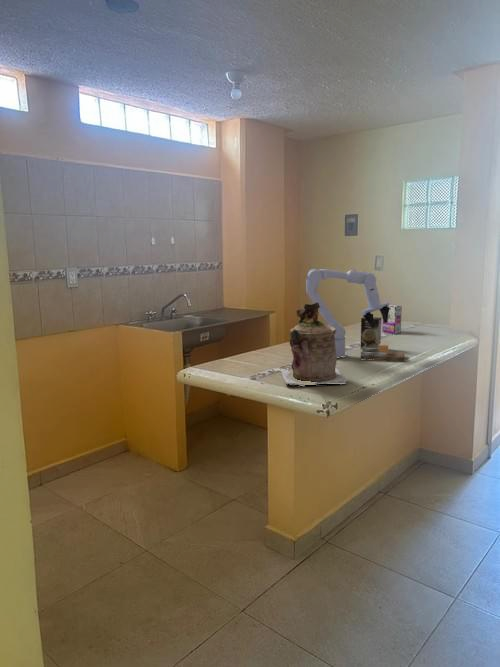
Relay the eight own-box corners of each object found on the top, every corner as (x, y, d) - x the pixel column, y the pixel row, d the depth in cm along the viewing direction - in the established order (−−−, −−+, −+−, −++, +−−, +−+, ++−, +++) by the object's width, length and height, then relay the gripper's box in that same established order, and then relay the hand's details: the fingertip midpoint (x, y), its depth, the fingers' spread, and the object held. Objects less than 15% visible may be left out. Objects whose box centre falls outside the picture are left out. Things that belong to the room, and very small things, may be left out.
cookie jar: (336, 369, 215) (336, 296, 209) (349, 386, 191) (349, 304, 185) (279, 371, 214) (278, 298, 208) (285, 388, 190) (284, 306, 184)
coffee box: (360, 349, 252) (360, 318, 249) (363, 346, 257) (363, 316, 254) (378, 350, 247) (378, 319, 244) (381, 348, 253) (381, 317, 250)
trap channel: (360, 359, 230) (360, 352, 229) (362, 354, 240) (362, 347, 240) (404, 361, 224) (404, 354, 224) (404, 356, 235) (404, 349, 234)
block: (378, 354, 231) (379, 345, 230) (379, 352, 234) (379, 343, 233) (387, 355, 229) (387, 345, 229) (387, 353, 233) (388, 343, 232)
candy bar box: (401, 333, 288) (402, 305, 285) (394, 334, 286) (395, 306, 283) (388, 330, 298) (389, 303, 295) (382, 331, 296) (382, 304, 293)
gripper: (365, 302, 226) (371, 330, 229) (390, 293, 231) (396, 320, 233) (356, 302, 233) (363, 329, 235) (381, 293, 238) (387, 320, 240)
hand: (379, 325), depth 235 cm, fingers open, 7 cm apart
